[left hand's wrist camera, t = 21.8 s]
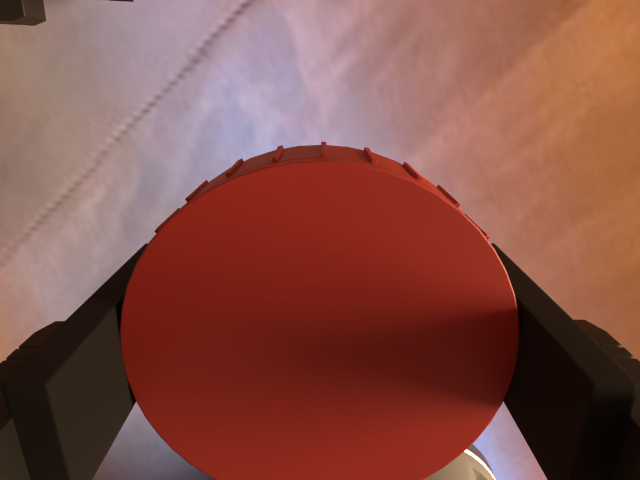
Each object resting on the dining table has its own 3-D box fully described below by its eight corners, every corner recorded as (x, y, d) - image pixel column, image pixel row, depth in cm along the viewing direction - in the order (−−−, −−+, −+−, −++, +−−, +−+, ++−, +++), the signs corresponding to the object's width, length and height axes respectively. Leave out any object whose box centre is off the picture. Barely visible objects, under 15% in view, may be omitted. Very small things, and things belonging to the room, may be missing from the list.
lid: (315, 488, 14) (314, 557, 12) (82, 306, 12) (34, 354, 10) (554, 315, 12) (602, 363, 10) (325, 56, 10) (327, 51, 8)
